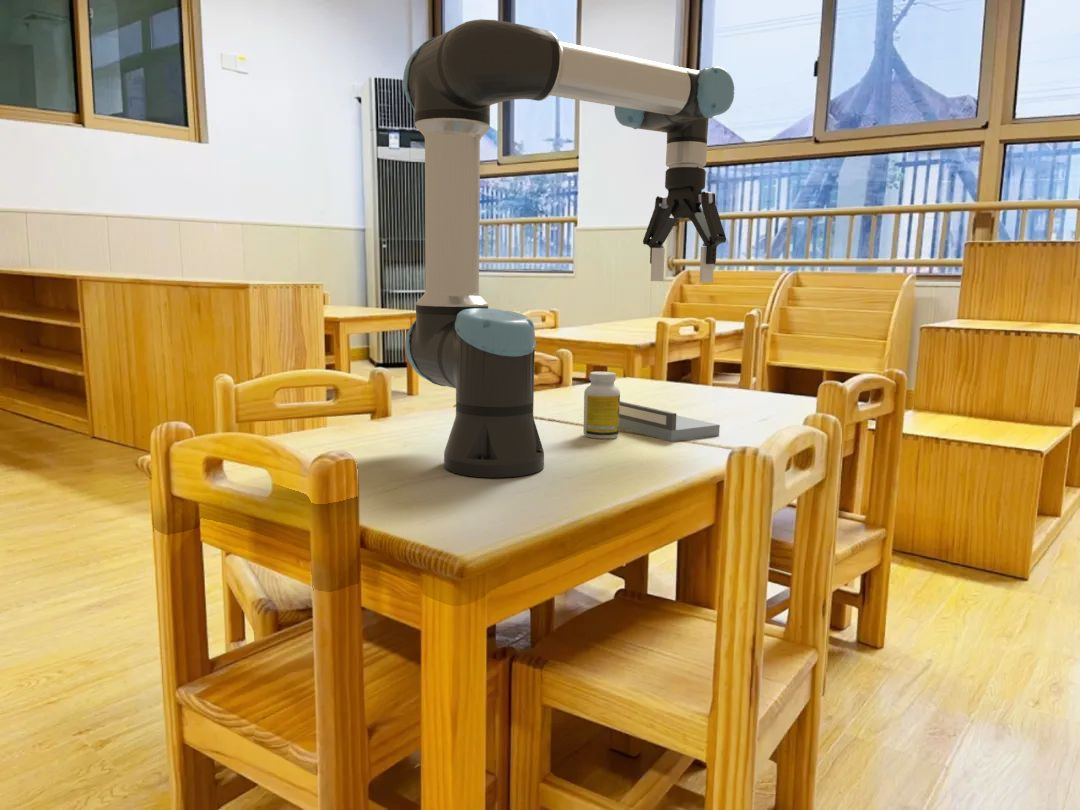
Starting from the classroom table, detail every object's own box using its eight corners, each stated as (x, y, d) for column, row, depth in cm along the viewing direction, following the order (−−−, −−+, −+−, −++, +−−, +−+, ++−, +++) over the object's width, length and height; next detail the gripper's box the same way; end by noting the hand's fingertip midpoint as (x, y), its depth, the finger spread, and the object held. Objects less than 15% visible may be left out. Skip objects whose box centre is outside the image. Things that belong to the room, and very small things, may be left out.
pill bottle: (619, 440, 145) (622, 375, 143) (583, 439, 145) (585, 374, 143) (617, 433, 151) (619, 371, 149) (582, 432, 151) (584, 370, 149)
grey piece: (670, 441, 144) (671, 413, 143) (613, 426, 157) (614, 401, 156) (719, 435, 151) (720, 408, 150) (660, 421, 164) (662, 397, 163)
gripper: (750, 163, 145) (743, 283, 148) (656, 175, 165) (652, 280, 169) (720, 159, 141) (713, 282, 144) (628, 172, 161) (624, 280, 165)
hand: (680, 282), depth 156 cm, fingers open, 13 cm apart
